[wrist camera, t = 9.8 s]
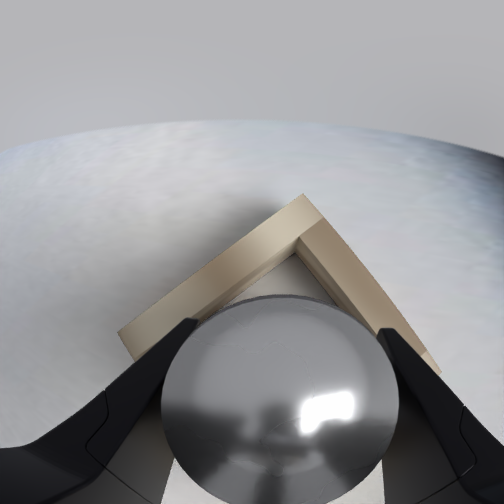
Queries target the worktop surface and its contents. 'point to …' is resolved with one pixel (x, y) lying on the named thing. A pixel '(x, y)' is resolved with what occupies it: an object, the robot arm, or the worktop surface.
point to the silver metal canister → (279, 402)
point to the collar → (264, 260)
